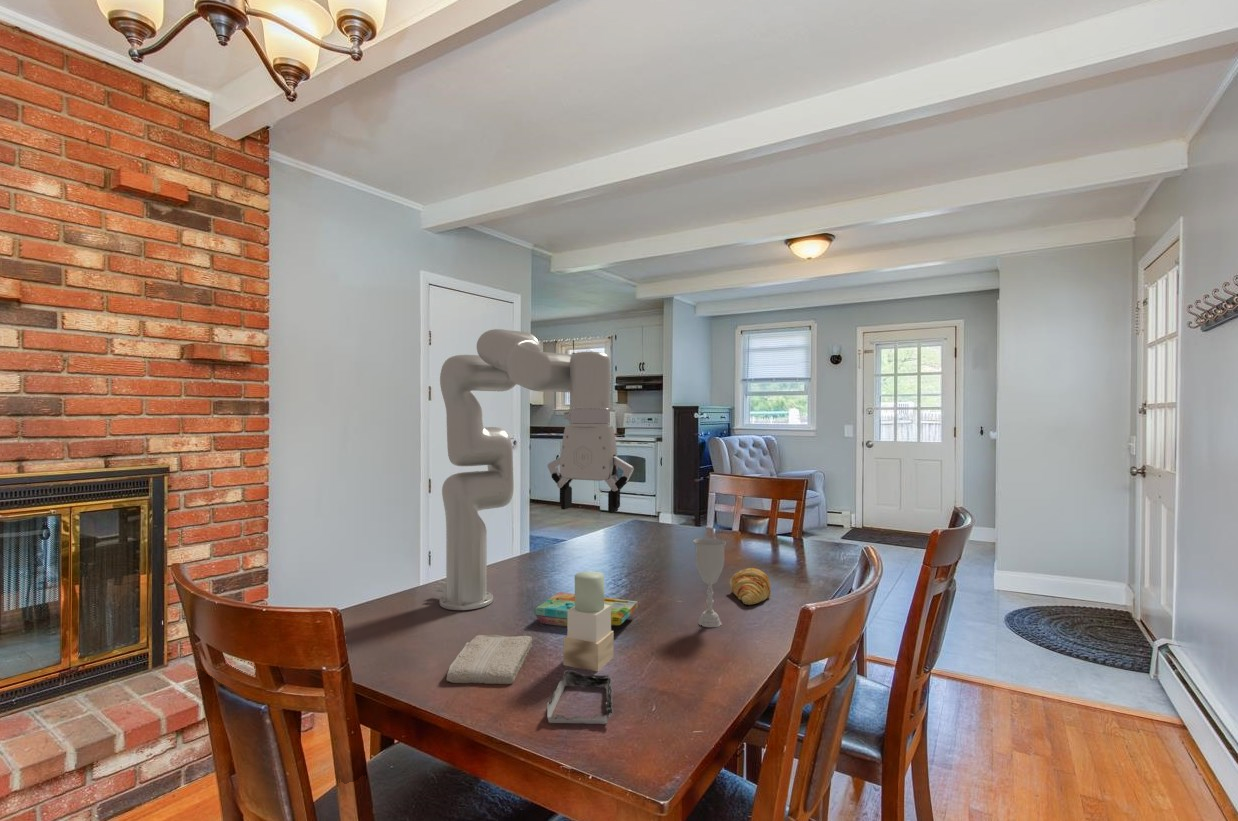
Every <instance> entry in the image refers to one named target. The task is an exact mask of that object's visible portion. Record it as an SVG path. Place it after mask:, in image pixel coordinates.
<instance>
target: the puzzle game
mask: <svg viewBox="0 0 1238 821" xmlns="http://www.w3.org/2000/svg"><path fill="white" fill-rule="evenodd" d="M604 604H606V605H611V626H621V625H622V624H623V623H624V622H625V621H626V620H627V619H628V618H629V617H630V616H631V615H632V613H633V612H634V611H635V610H636V609H637V608H638V607H639V602H638V601H635V600H627V599H619V598H611V597H604ZM574 606H575V593H570V592H562V591H560V592H556V593H555V594H554V595H552V596H551V597H549V598H548V599H547V600H545V601H544V602H542V603H541V604H540V605H538V606H536V607H534V615H535V617H536V618H537V619H538V620H539V622H540V623H541V624H544V623H545V624H544V625H553V626H560V627H562V626H563V627H567V618H568V610H569V609H571V608H572V607H574Z"/></svg>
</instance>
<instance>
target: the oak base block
mask: <svg viewBox="0 0 1238 821" xmlns="http://www.w3.org/2000/svg"><path fill="white" fill-rule="evenodd" d="M614 632H615V631H614V630H611V632H610V633H609V634H607V635H606V636H605V637H603V638H602V639H601V640H600V641H598V642H597V643H594V642H589V641H584V640H578V639H573V638H568V637H567V635H566V636H565V637H563V647H562V648H563V654H562V655H563V662H562V664H563V666H566V667H572V668H576V669H581V670H587V671H593V672H600V671H601V670H602V669H603V668H604V667H605V666H606V665H607V664H608V663H609V662H610V661H611V660H612V659H613V658H614V656H615V655H614V654H615V653H614V652H615V651H614V648H615V647H614V643H615V640H614V638H615V637H614V635H615V633H614Z"/></svg>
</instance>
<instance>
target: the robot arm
mask: <svg viewBox="0 0 1238 821" xmlns="http://www.w3.org/2000/svg"><path fill="white" fill-rule="evenodd" d="M476 350H477V351H476V352H477V355H476V354H457V355H453V356H450V357H448V358H447V359H446V360H445V361H444V363H443V364H442V366H441V369H440V375H439V385H440V392H441V394H442V398H443V402H444V406H445V411H446V412H445V414H446V442H447V444H446V445H447V447H446V448H447V456H448V459H449V462H450V463H451V464H452V465H454V466H457V467H476V466H477V467H480V466H487V470H480V471H479V470H476V471H464V472H457V473H455V474H451V475H449V477H447V478H446V479H445V480H444V481H443V484H442V487H441V493H442V494H441V495H442V501H443V506H444V512H445V514H444V516H445V527H446V528H445V532H446V533H445V534H446V535H445V536H446V537H445V539H446V544H445V547H446V548H445V549H446V550H445V555H446V557H445V561H446V564H445V565H446V566H445V571H446V572H445V574H446V575H445V577H446V578H445V580H446V581H444V580H443V581H441V580H438V582H437V583H436V585H435V586H434V591H435V592H441V593H442V596H441V597H440V599H439V606H440V607H441V608H443V609H445V610H446V609H447V610H450V611H451V610H452V611H470V610H476V609H481V608H484V607H486V606H489V605H490V604H491V603H492V602H493V601H494V595H493V594H492V593H491V592H489V591H487V588H488V587H487V584H488V583H487V580H488V578H487V574H488V573H487V572H488V571H487V570H488V566H487V564H488V561H487V559H488V557H487V556H488V555H487V554H488V553H487V552H488V551H487V548H488V546H487V544H488V539H487V538H488V537H487V534H488V533H487V531H488V530H487V527H486V524H485V521H484V520H483V519H482V518H481V516H480V515H479V513H478V512H479V511H484V510H489V509H491V510H492V509H499V508H503V507H505V506H508V505H509V504H510V503H511V501H512V500H513V496H514V486H515V485H514V460H513V459H514V458H513V456H514V454H513V445H512V443H513V442H512V440H511V438H510V436H509V433H508V432H507V431H506V430H505V429H503V428H501V427H496V426H491V427H490V426H489V427H487V426H485V427H484V425H483V424H484V423H483V409H482V407H481V404H480V402H479V401H478V399H477V398H476V396H475V395H474V394H473V393H472V391H475V392H476V391H479V392H507V391H510V390H511V389H513V388H514V387H515V386H517V385H518V386H521V387H522V388H525V389H527V390H530V391H534V392H539V393H541V392H545V393H547V392H548V393H549V392H551V393H569V408H568V411H565V412H564V413H563V419H565V420H568V423H569V425H565V427H564V430H563V435H562V441H561V449H560V450H561V451H560V457H558V458H556V459H554V460H552V461H550V462H549V463H548V464H547V469H548V470H549V473H550V474H551V478H552V480H553V481H554V482H555V484H556V487H557V488H558V489H559V503H560V508H561V510H568V509H570V508H572V507H573V506H572V505H573V488H572V486H570V484H571V483H572V482H573V480H579V481H593V482H595V481H596V482H597V481H598V482H599V481H605V483H606V484H607V486H608V487H609V488H610V490H609V491H608V493H607V494H608V495H607V504H608V505H607V512H608V513H609V514H613V513H616V512H618V511H619V508H620V506H621V490H622V489H623V487H624V486H625V485H626V484H627V483H629V481H630V478H631V476H632V475H633V472H634V470H635V467H634V466H633V465H631V464H629V463H627V462H626V461H625V460H623V459H621V458H619V457H618V448H617V442H616V434H615V430H614V426H613V425H611V360H610V357H609V355H608V354H606V353H604V352H599V351H580V352H575V353H573V354H568V353H559V352H550V351H549V352H547V351H542V350H541V345H540V342H539V340H538V339H537V338H536V336H535V335H534V334H532V333H529V332H528V331H527V332H525V331H517V330H508V329H499V328H498V329H497V328H493V329H490V330H487V331H484V332H483V333H482V334H480V336H479V337H478V339H477V342H476ZM559 467H560V468H559ZM618 469H620V470H622V475H621V476H620V478H618V476H617V475H618Z"/></svg>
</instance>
